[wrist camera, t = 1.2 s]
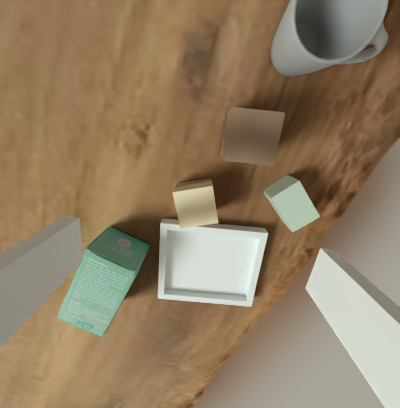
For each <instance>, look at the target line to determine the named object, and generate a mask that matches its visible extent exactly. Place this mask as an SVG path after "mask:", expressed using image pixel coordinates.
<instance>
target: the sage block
mask: <svg viewBox="0 0 400 408" xmlns="http://www.w3.org/2000/svg"><path fill="white" fill-rule="evenodd" d="M263 192H264V193H265V195H266V196H267V198H268V199H269V201H270V203H271V204H272V206H273V207H274V209H275V210H276V212H277V214H278V215H279V217H280V218H281V220H282V221H283V222H284V223H285V225H286V226H287V227H288V228H289V229H290V230H291V231H292V232H294V231H296V230H298V229H300V228H301V227H303V226H305V225H307V224H308V223H310V222H312V221H314V220H315V219H317V218H319V217H320V216H319V214H318V212H317V211H316V209H315V207H314V205H313V204H312V202H311V200H310V198H309V197H308V195H307V193H306V191H305V189H304V188H303V186H302V184H301V182H300V181H299V180H297V179H295V178H293V177H291V176H289V175H286V176H285V177H283V178H281V179H280V180H278V181H277V182H275V183H274V184H272V185H270V186H269V187H267V188H266V189H264V190H263Z"/></svg>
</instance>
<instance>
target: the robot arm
mask: <svg viewBox="0 0 400 408" xmlns="http://www.w3.org/2000/svg"><path fill="white" fill-rule="evenodd" d="M82 262H83V259H82V244H81V229H80V218H79V217H71V216H64V217H62V218H60V219H59V220H57V221H55V222H54V223H52V224H50V225H48V226H47V227H45V228H43V229H42V230H40V231H38V232H36V233H35V234H33V235H31V236H30V237H28V238H26V239H24V240H23V241H21V242H19V243H18V244H16V245H14V246H13V247H11V248H9V249H7V250H6V251H4V252H2V253H1V254H0V348H1V347H2V346H3V345H4V344H5V342H6V341H7V340H8V339H9V338H10V337H11V336H12V335H13V334H14V333H15V332H16V331H17V330H18V329H19V328H20V327H21V326H22V325H23V324H24V323H25V321H26V320H27V319H28V318H29V317H30V316H31V315H32V314H33V313H34V312H35V311H36V310H37V309H38V308H39V307H40V306H41V305H42V304H43V303H44V302H45V300H46V299H47V298H48V297H49V296H50V295H51V294H52V293H53V292H54V291H55V290H56V289H57V288H58V287H59V286H60V285H61V284H62V283H63V282H64V281H65V279H66V278H67V277H68V276H69V275H70V274H71V273H72V272H73V271H74V270H75V269H76V268H77V267H78V266H79V265H80V264H81V263H82ZM306 290H307V291H308V293H309V294H310V296H311V297H312V299H313V300H314V302H315V303H316V305H317V306H318V308H319V309H320V311H321V312H322V314H323V315H324V317H325V318H326V320H327V321H328V323H329V324H330V326H331V327H332V329H333V330H334V332H335V333H336V335H337V336H338V338H339V339H340V341H341V342H342V344H343V345H344V347H345V348H346V350H347V351H348V353H349V354H350V356H351V357H352V359H353V360H354V362H355V363H356V365H357V366H358V368H359V369H360V371H361V372H362V374H363V375H364V377H365V378H366V380H367V381H368V383H369V384H370V386H371V387H372V389H373V390H374V392H375V393H376V395H377V396H378V398H379V399H380V401H381V402H382V404H383V405H384V407H385V408H400V307H399V306H398V305H396V304H395V303H394V302H393V301H392V300H391V299H390V298H388V297H387V296H386V295H385V294H384V293H383V292H382V291H380V290H379V289H378V288H377V287H376V286H375V285H374V284H372V283H371V282H370V281H369V280H368V279H367V278H366V277H364V276H363V275H362V274H361V273H360V272H359V271H358V270H356V269H355V268H354V267H353V266H352V265H351V264H350V263H349V262H347V261H346V260H345V259H344V258H343V257H342V256H341V255H339V254H338V253H337V252H336V251H335V250H330V249H323V248H320V251H319V254H318V256H317V259H316V262H315V264H314V267H313V270H312V272H311V275H310V278H309V280H308V283H307V286H306Z"/></svg>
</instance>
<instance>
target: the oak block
mask: <svg viewBox="0 0 400 408" xmlns="http://www.w3.org/2000/svg"><path fill="white" fill-rule="evenodd" d="M173 197H174V201H175V206H176V210H177V215H178V220H179V224H180V229H181V228H188V227H195V226H202V225H209V224H215V223H218V218H217V211H216V204H215V198H214V191H213V185H212V179H211V178H207V179H201V180H195V181H188V182H182V183H177V185H176V187H175V189H174V191H173Z"/></svg>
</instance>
